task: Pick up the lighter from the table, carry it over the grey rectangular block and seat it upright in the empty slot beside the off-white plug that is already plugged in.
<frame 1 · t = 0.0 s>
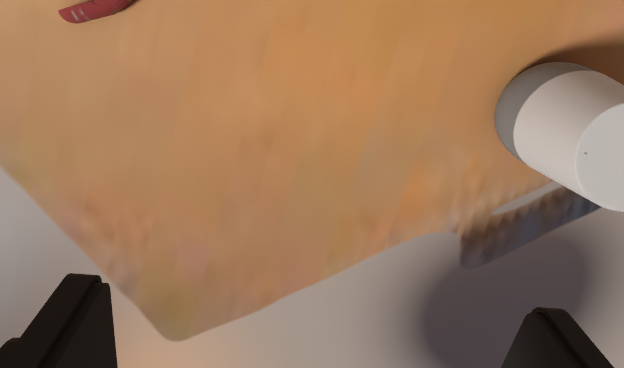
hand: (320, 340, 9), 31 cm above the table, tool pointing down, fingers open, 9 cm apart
smart speaker: (531, 105, 40), on the table
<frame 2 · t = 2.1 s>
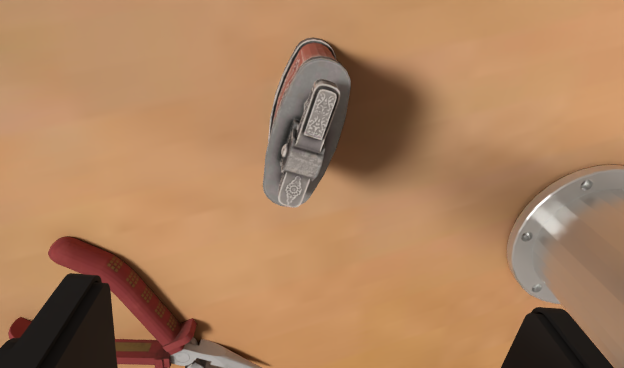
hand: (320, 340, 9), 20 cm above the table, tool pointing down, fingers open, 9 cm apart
lighter: (300, 98, 28), on the table
pliers: (137, 328, 37), on the table
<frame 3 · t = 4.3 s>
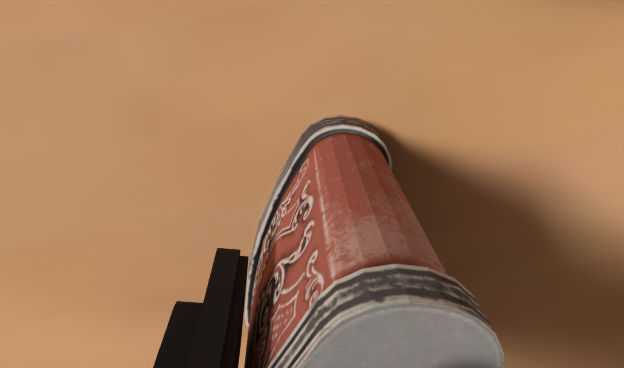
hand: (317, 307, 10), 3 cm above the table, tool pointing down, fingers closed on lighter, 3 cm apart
lighter: (310, 230, 14), on the table, touching gripper
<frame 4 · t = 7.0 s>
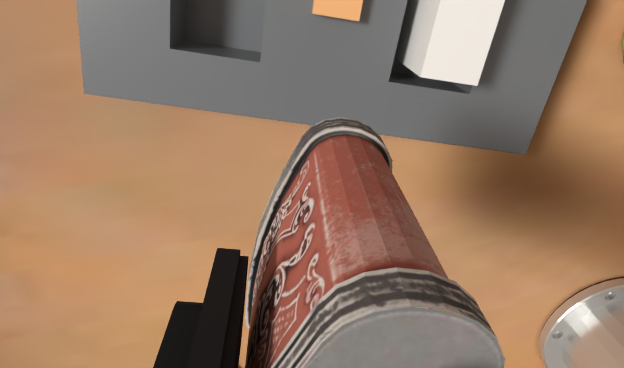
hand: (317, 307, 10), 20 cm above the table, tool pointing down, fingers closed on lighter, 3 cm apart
lighter: (310, 232, 14), point 16 cm above the table, touching gripper
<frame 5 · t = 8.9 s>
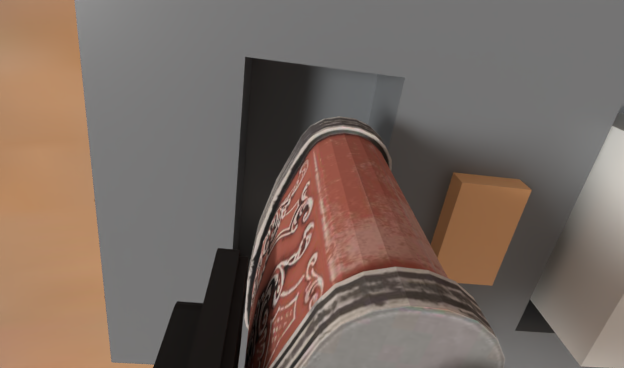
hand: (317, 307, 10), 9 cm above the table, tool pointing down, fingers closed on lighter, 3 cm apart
grey rectangular block: (430, 173, 19), on the table
lighter: (310, 231, 13), point 6 cm above the table, touching gripper
seated plug: (564, 195, 19), point 1 cm above the table, touching grey rectangular block
when the fingers open (6 cm above the table, at t = 9.9 s): lighter drops 1 cm, resting on grey rectangular block.
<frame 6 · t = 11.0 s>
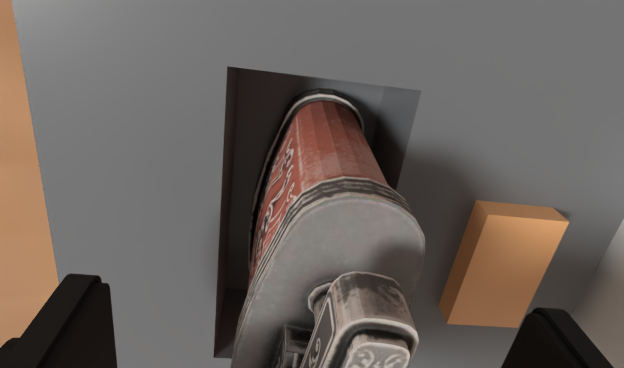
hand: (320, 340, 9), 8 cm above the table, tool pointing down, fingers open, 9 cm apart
grey rectangular block: (442, 191, 17), on the table
lighter: (300, 190, 16), point 1 cm above the table, touching grey rectangular block
seated plug: (592, 216, 17), point 1 cm above the table, touching grey rectangular block
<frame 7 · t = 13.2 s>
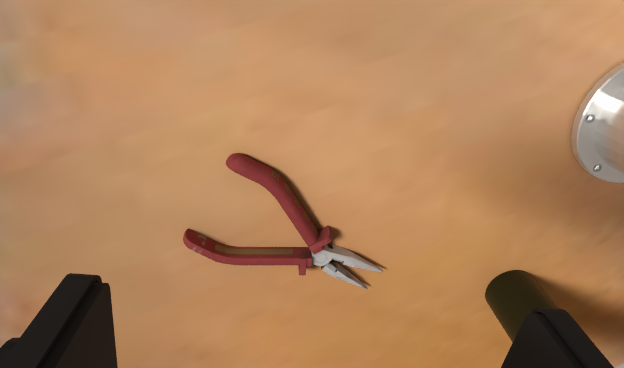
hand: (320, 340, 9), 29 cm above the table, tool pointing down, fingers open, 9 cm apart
wine bottle: (508, 288, 48), on the table
pliers: (278, 239, 44), on the table
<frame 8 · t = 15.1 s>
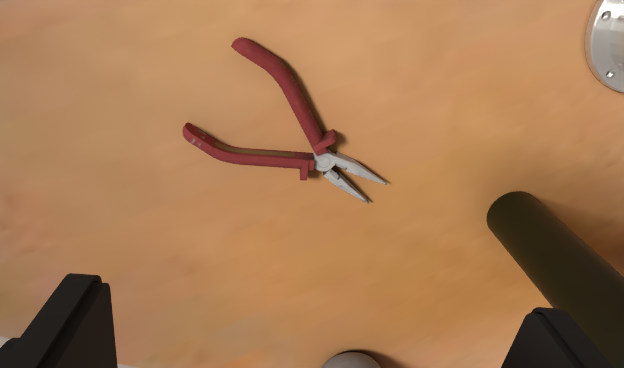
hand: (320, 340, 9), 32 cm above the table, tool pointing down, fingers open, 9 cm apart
smart speaker: (348, 367, 57), on the table
wine bottle: (511, 212, 47), on the table
pliers: (280, 143, 42), on the table
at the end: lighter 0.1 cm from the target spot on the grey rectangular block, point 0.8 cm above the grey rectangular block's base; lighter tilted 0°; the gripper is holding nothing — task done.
